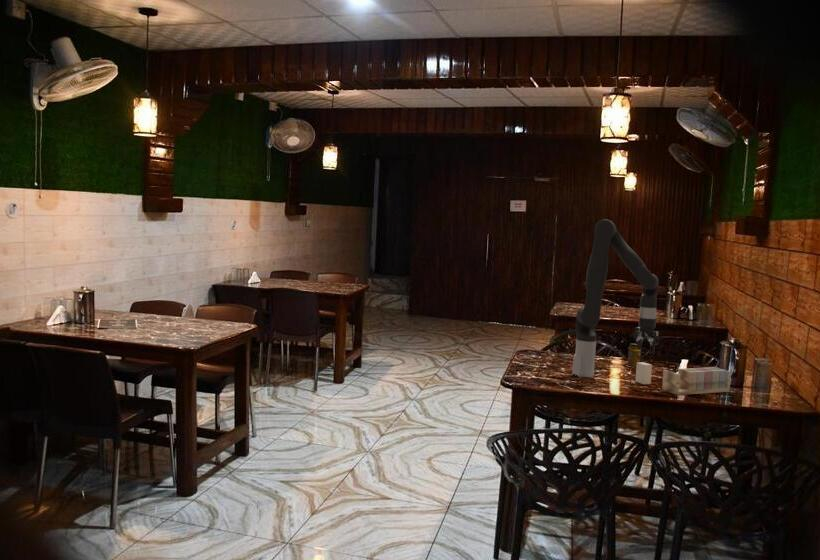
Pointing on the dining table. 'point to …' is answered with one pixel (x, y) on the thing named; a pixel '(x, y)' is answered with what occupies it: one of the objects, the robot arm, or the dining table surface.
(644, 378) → the cream block
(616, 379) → the dining table surface
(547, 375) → the dining table surface
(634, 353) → the condiment
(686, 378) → the pastel slab stack
